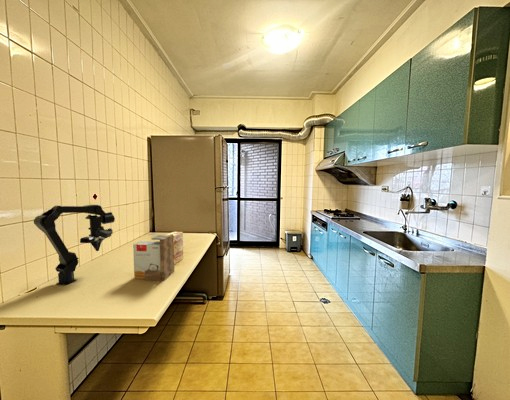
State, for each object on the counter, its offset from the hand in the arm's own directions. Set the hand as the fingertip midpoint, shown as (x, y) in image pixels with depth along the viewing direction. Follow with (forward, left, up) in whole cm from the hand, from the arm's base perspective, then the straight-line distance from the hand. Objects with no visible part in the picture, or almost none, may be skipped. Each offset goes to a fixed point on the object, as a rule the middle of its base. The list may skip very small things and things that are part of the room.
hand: (97, 250), depth 146 cm
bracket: (-3, -40, -13) cm, 43 cm away
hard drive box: (-4, -35, -13) cm, 38 cm away
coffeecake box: (+22, -38, -13) cm, 46 cm away
